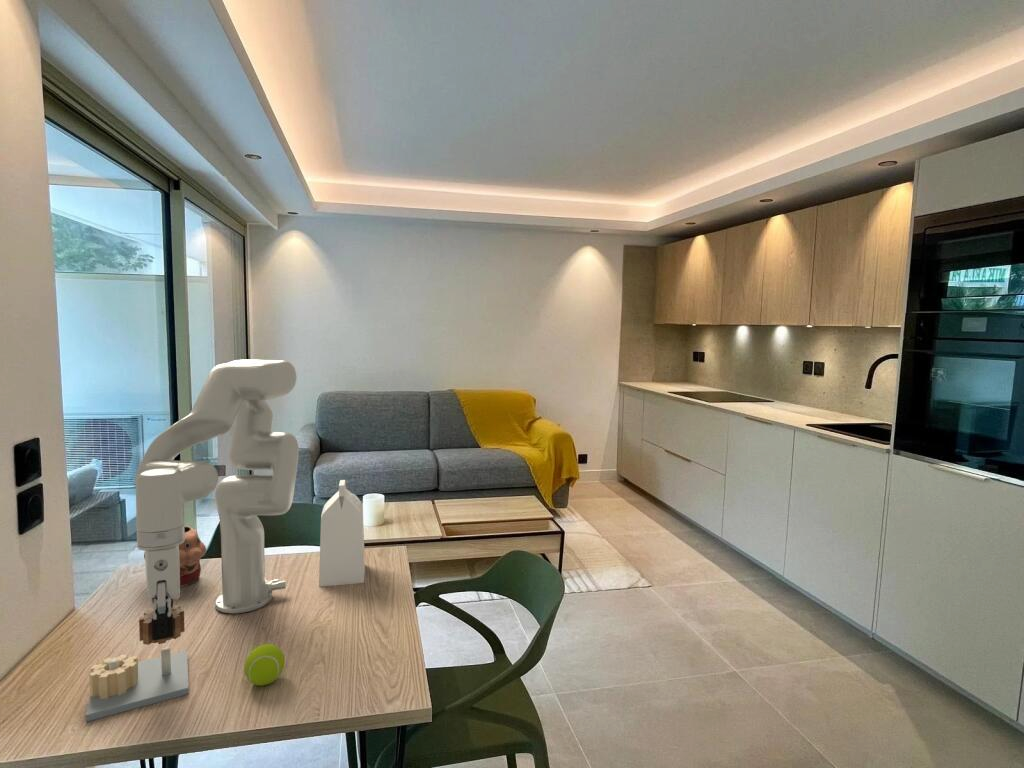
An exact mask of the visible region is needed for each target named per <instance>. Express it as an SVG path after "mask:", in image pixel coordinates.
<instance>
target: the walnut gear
mask: <svg viewBox="0 0 1024 768" xmlns="http://www.w3.org/2000/svg"><path fill="white" fill-rule="evenodd" d="M171 614H173V636H172V637H169V638H165V639H160V640H155V641H154V640H152V618H153V610H147V611H145V612H144V613H143V616H139V618H138V621H139V623H138V624H139V625H138V627H139V628H138V629H139V630H138V631H139V634H138V635H139V642H142V643H143V645H147V646H149V645H151V644H156V643H157V645H161V644H166V643H167V641H171V640H172V639H173V640H177V639H178V638H180V637H181V636H182V635H181V634H182V633H184V632H185V608H181V605H173V607H171Z"/></svg>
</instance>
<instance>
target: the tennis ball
mask: <svg viewBox="0 0 1024 768" xmlns="http://www.w3.org/2000/svg"><path fill="white" fill-rule="evenodd" d="M285 659H286V658H285V654H284V652H283V650H282V649H281V648H280V647H279V646H277V645H276V644H272V643H265V644H261V645H259V646H256V647H255V648H253V649H252V651H251V652H249V654H248V655H247V657H246V660H245V661H244V665H243V666H244V675H245V677H246V679H247V680H248V682H250V683H251V684H253V685H255V686H266V685H270V684H272V683H273V682H275V681H277V679H278V678H279V677H280V676H281V674H282V673H283V671H284V668H285V663H286V660H285Z"/></svg>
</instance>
